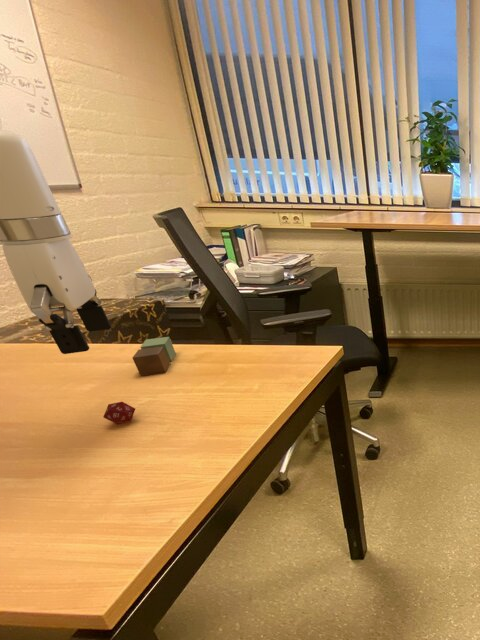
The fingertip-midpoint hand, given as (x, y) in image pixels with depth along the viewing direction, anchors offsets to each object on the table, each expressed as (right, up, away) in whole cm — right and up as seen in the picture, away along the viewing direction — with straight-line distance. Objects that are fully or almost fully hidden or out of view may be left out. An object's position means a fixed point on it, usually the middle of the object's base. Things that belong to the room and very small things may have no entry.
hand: (88, 340), depth 67 cm
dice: (-1, -14, +7) cm, 16 cm away
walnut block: (-10, -5, +25) cm, 27 cm away
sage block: (-12, -2, +30) cm, 32 cm away
